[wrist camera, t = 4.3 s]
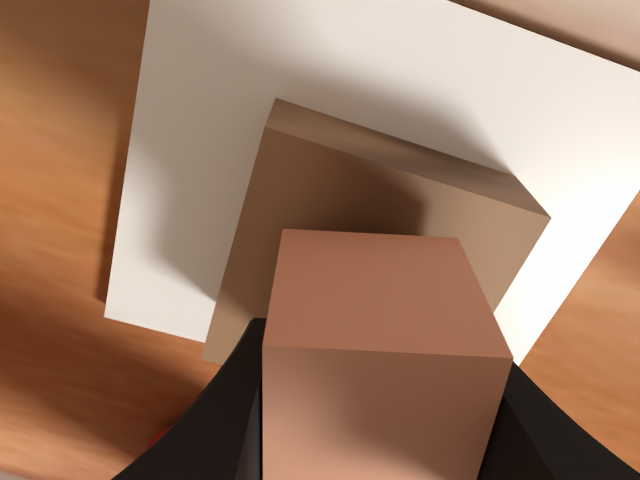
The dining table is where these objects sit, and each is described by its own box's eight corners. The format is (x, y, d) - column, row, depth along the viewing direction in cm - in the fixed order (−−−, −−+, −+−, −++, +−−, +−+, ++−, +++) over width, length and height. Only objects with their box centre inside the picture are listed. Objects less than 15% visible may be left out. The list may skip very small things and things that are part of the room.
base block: (515, 176, 16) (551, 218, 14) (416, 356, 20) (430, 416, 17) (275, 97, 15) (264, 126, 13) (218, 303, 19) (200, 359, 16)
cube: (457, 238, 13) (513, 357, 9) (430, 369, 15) (465, 513, 11) (282, 228, 13) (262, 345, 9) (280, 362, 15) (263, 503, 11)
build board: (691, 91, 15) (703, 95, 15) (481, 403, 22) (485, 414, 21) (171, -102, 13) (165, -105, 13) (109, 307, 20) (103, 317, 19)
